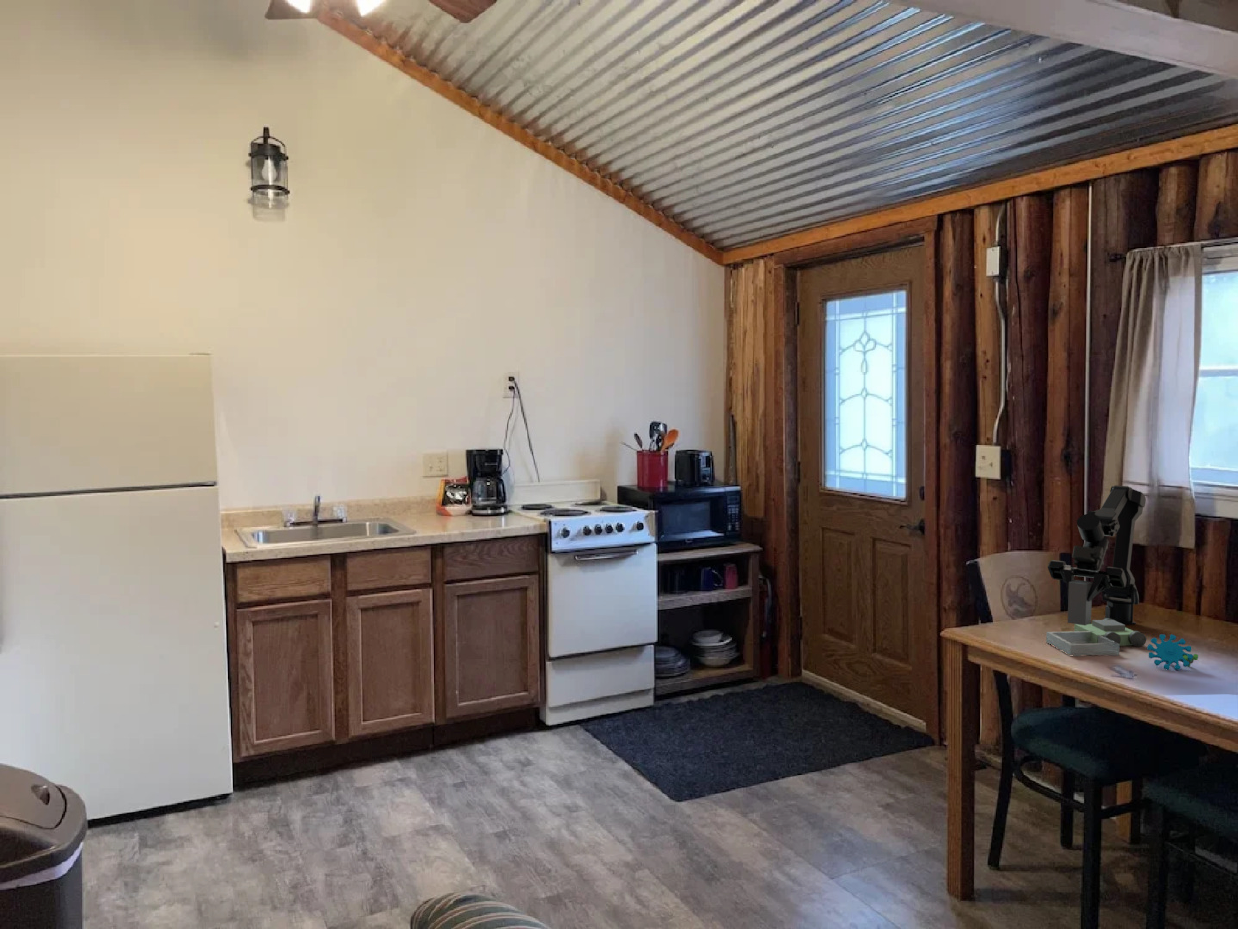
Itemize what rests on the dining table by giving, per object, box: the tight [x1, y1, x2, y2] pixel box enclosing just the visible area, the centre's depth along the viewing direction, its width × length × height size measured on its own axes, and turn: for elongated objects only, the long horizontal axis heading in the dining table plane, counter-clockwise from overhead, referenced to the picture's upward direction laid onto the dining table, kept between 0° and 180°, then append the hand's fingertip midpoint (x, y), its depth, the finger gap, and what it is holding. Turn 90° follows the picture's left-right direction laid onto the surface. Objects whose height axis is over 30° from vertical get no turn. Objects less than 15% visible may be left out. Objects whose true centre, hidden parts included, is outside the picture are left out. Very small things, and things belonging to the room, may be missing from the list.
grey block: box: [1067, 579, 1093, 625], centre depth 253 cm, size 4×4×11 cm
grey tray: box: [1045, 630, 1121, 657], centre depth 253 cm, size 13×13×3 cm
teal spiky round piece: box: [1146, 633, 1199, 671], centre depth 238 cm, size 11×6×10 cm
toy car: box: [1073, 617, 1147, 648], centre depth 262 cm, size 12×16×4 cm
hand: (1078, 599), depth 252 cm, fingers closed on grey block, 4 cm apart
